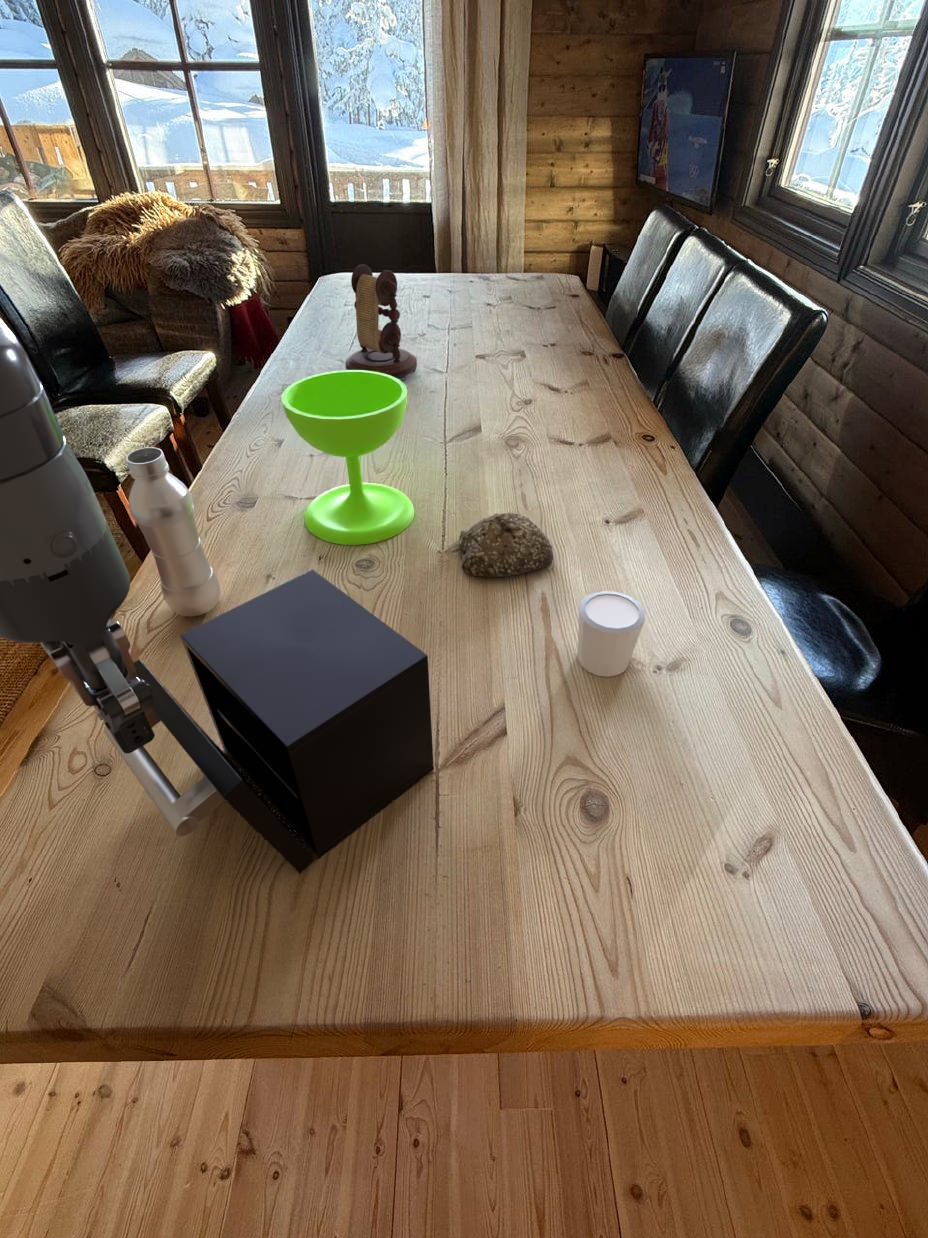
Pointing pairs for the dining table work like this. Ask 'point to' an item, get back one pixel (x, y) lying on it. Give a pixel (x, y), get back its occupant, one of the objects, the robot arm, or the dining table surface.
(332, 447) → the wineglass
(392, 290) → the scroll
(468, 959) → the dining table surface
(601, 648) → the white cylindrical container
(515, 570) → the bread roll
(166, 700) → the oven door
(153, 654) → the dining table surface
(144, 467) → the silver bottle
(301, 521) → the dining table surface
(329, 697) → the oven
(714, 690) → the dining table surface
